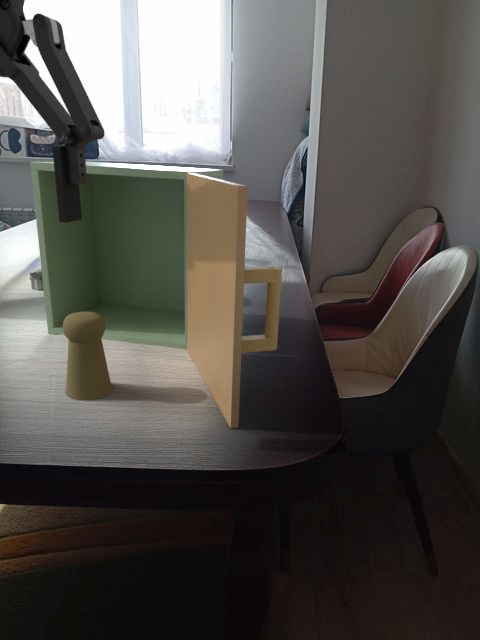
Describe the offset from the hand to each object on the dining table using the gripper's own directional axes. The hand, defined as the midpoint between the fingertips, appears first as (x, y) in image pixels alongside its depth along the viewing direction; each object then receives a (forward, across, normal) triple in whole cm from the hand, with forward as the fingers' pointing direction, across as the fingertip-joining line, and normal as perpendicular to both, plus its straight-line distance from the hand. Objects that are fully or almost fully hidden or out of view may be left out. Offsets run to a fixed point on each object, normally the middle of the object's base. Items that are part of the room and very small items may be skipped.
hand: (5, 215), depth 49 cm
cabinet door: (+25, +17, +21) cm, 36 cm away
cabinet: (+25, -5, +40) cm, 48 cm away
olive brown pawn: (+25, 0, +12) cm, 28 cm away
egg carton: (+26, -35, +62) cm, 75 cm away
